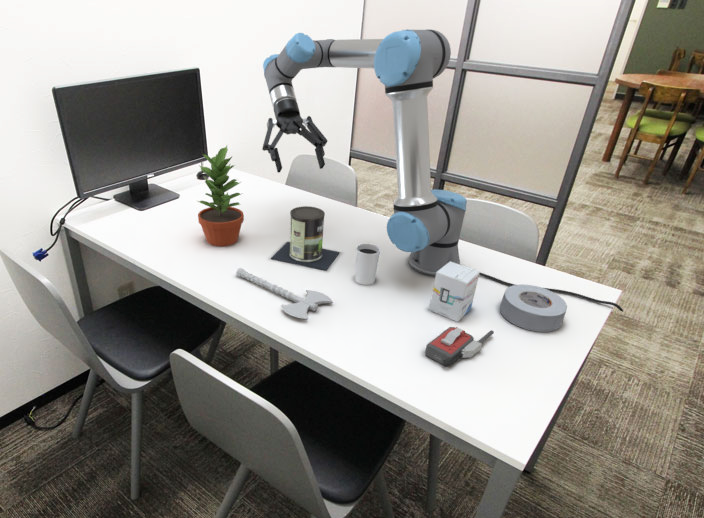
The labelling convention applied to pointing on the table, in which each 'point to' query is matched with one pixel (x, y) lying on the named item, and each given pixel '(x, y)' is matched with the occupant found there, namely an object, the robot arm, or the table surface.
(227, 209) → the potted plant
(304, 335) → the table surface
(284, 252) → the felt pad
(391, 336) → the table surface
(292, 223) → the coffee can
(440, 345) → the walkie-talkie
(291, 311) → the axe
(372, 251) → the white coffee cup
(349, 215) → the table surface
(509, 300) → the tape roll
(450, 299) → the ink box
